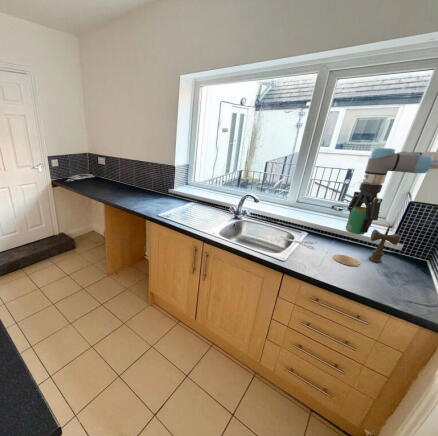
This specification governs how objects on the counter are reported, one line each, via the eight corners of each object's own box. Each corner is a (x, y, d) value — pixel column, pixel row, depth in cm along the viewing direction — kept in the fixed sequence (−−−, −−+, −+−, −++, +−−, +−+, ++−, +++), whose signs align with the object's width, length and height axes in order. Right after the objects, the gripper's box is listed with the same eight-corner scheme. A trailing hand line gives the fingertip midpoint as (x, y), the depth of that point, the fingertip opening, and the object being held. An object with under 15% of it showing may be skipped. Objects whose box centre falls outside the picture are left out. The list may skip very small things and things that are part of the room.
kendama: (361, 255, 130) (375, 221, 122) (385, 260, 125) (401, 225, 118) (363, 260, 125) (378, 225, 118) (388, 266, 121) (405, 230, 113)
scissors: (317, 249, 134) (277, 240, 144) (317, 250, 135) (277, 241, 144) (317, 241, 143) (279, 233, 152) (316, 243, 143) (279, 234, 153)
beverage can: (351, 227, 125) (359, 205, 120) (369, 233, 118) (378, 210, 113) (341, 229, 122) (349, 207, 117) (359, 236, 115) (368, 212, 110)
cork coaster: (349, 255, 130) (349, 254, 130) (365, 266, 120) (365, 265, 120) (327, 254, 131) (328, 254, 131) (341, 265, 120) (342, 264, 120)
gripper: (347, 178, 121) (334, 220, 129) (382, 188, 101) (365, 237, 109) (362, 178, 121) (349, 221, 129) (401, 188, 101) (382, 237, 109)
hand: (356, 228), depth 119 cm, fingers closed on beverage can, 8 cm apart
